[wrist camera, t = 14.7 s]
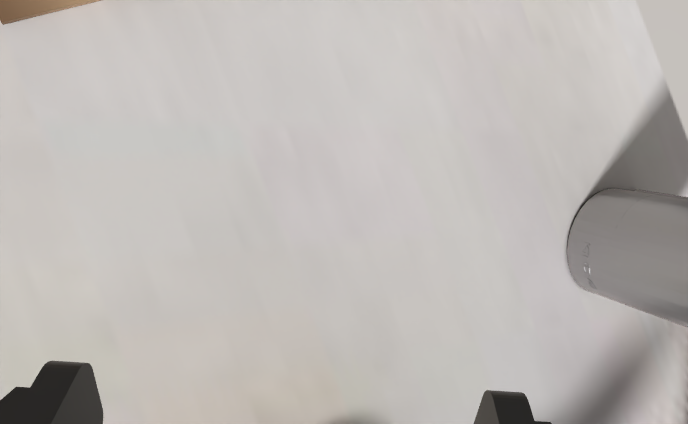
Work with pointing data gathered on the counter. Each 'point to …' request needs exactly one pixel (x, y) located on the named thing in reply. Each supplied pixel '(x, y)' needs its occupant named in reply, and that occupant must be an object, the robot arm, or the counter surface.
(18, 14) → the shaft bench
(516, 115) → the counter surface
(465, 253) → the counter surface
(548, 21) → the counter surface
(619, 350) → the counter surface
